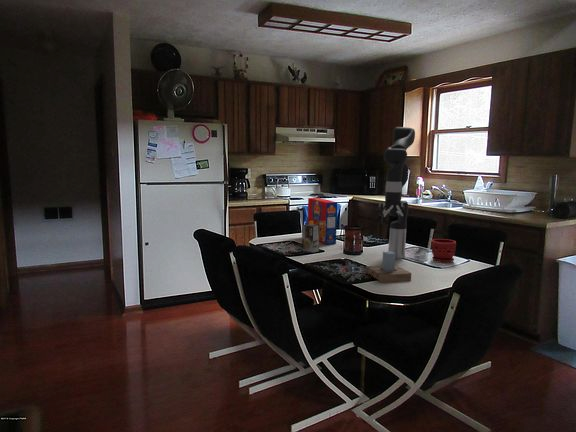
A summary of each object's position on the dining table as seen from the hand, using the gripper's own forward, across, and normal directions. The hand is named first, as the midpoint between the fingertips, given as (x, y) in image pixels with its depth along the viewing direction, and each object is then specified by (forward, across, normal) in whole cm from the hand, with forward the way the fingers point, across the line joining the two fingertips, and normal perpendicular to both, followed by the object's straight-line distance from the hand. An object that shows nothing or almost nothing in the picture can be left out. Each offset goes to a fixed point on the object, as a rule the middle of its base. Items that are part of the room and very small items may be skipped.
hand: (391, 223), depth 203 cm
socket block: (+26, +1, +1) cm, 26 cm away
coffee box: (+27, +22, -58) cm, 68 cm away
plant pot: (+27, -44, -19) cm, 55 cm away
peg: (+26, +1, +1) cm, 26 cm away
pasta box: (+27, +6, -86) cm, 90 cm away
